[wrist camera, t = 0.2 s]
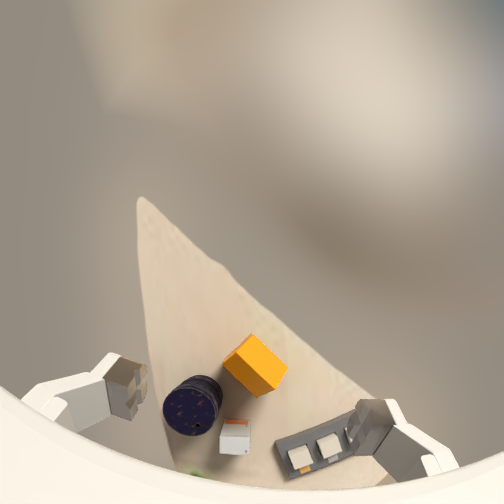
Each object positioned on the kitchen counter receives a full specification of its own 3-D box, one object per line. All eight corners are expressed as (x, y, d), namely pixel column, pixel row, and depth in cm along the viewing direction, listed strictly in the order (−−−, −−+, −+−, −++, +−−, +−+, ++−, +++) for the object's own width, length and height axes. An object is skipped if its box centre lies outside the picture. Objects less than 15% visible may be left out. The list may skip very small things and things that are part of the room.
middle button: (338, 446, 52) (342, 451, 50) (321, 454, 52) (324, 458, 49) (334, 432, 53) (337, 436, 51) (316, 440, 53) (319, 444, 50)
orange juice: (254, 383, 59) (258, 406, 39) (226, 356, 60) (217, 368, 41) (279, 359, 60) (294, 372, 41) (251, 332, 62) (253, 333, 43)
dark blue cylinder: (172, 386, 58) (151, 401, 44) (207, 366, 59) (195, 377, 45) (196, 421, 56) (182, 444, 41) (231, 402, 57) (227, 422, 43)
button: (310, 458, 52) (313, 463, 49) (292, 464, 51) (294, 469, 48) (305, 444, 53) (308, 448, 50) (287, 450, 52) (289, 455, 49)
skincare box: (250, 419, 56) (251, 437, 45) (250, 435, 55) (250, 456, 44) (223, 418, 56) (218, 436, 45) (223, 434, 55) (218, 454, 44)
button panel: (371, 439, 54) (375, 443, 52) (288, 474, 52) (290, 479, 49) (361, 405, 57) (365, 408, 54) (275, 440, 55) (276, 445, 52)
